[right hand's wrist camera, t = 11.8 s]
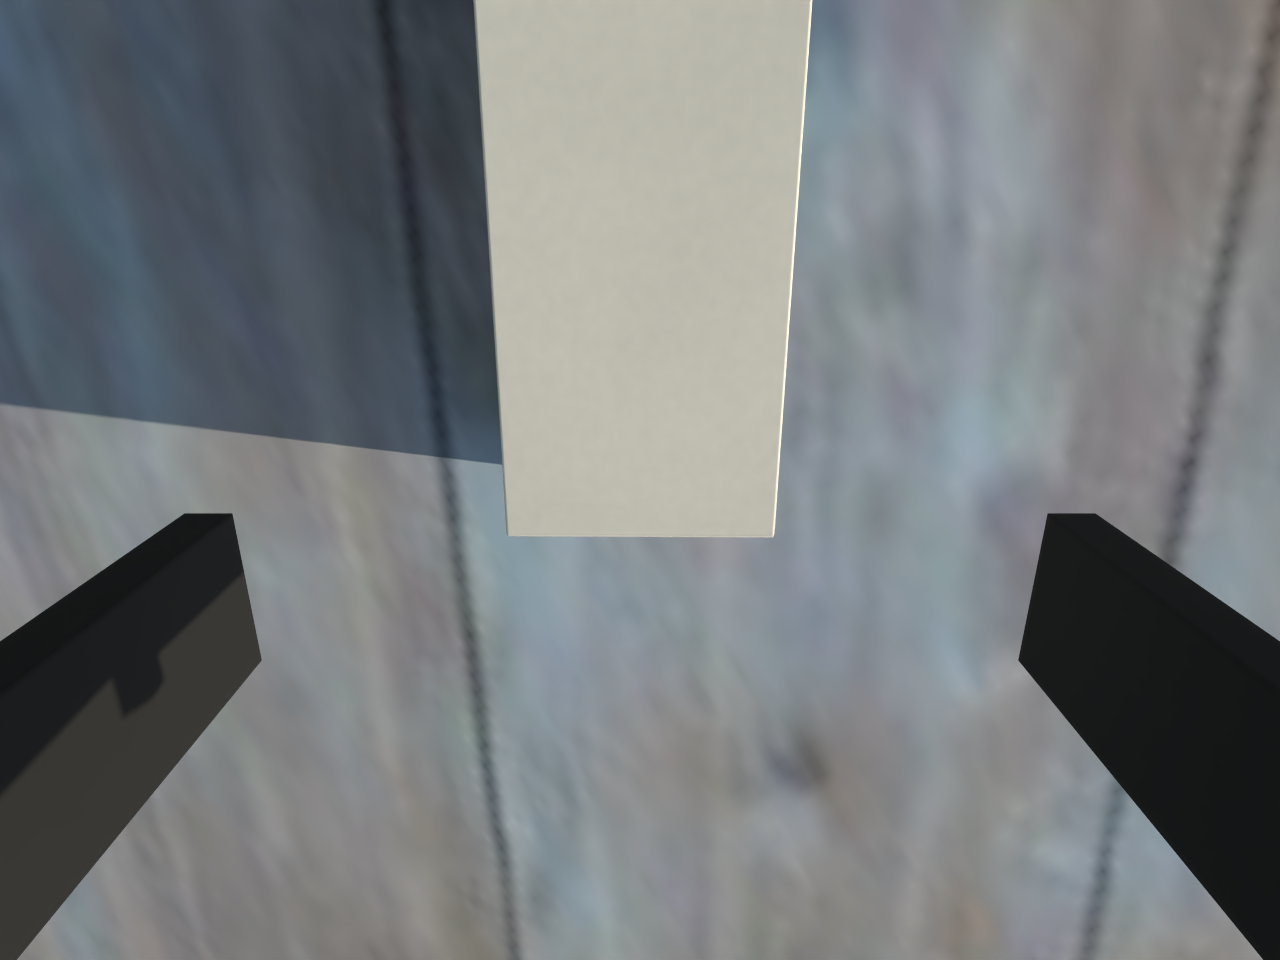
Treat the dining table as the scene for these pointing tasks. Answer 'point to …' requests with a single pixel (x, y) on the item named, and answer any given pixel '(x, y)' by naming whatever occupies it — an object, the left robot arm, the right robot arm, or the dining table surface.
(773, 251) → the off-white long beam
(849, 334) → the dining table surface
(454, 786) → the dining table surface
